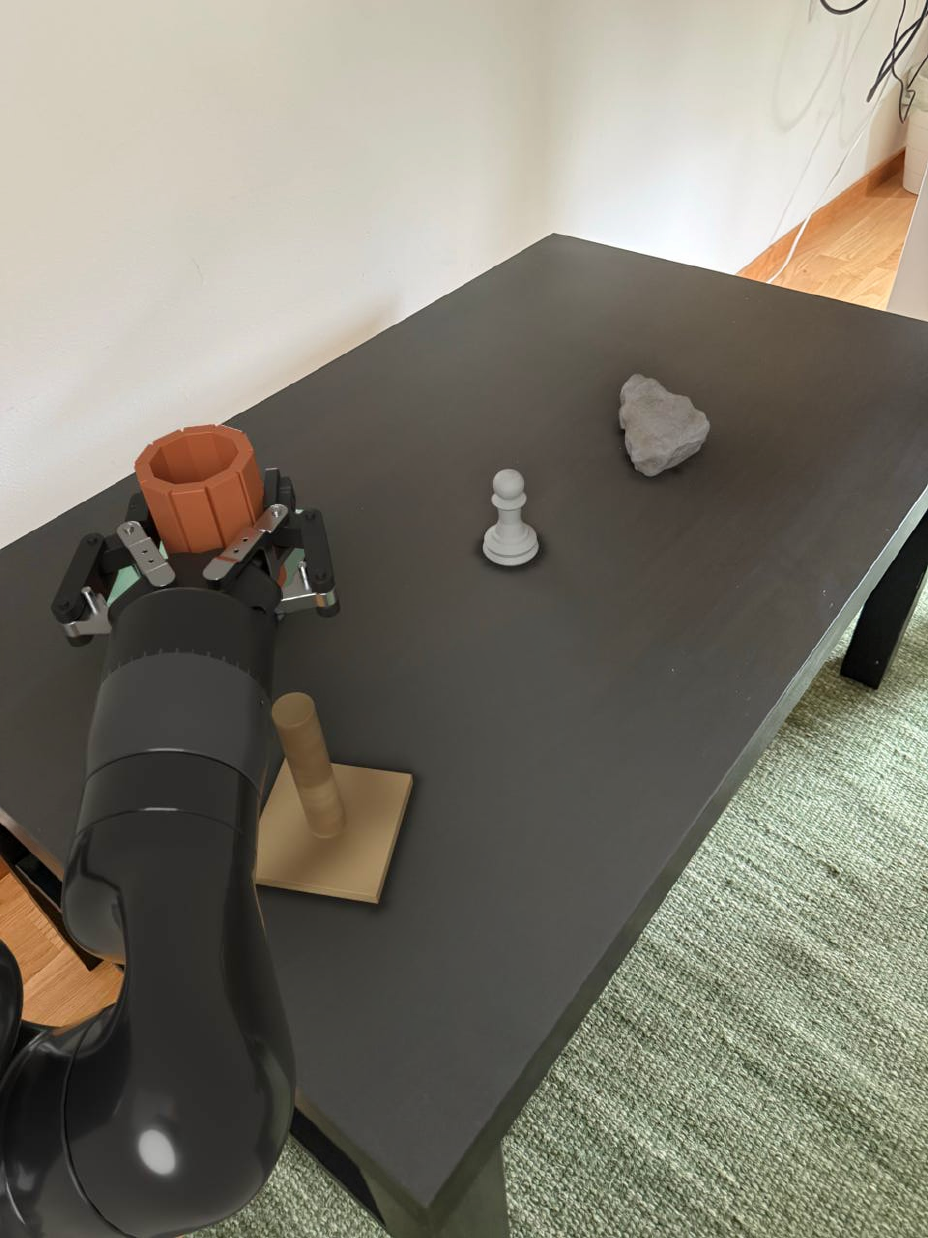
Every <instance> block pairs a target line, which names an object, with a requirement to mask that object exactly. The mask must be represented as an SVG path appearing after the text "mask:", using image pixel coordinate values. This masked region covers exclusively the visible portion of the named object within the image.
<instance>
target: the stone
mask: <svg viewBox="0 0 928 1238" xmlns="http://www.w3.org/2000/svg"><path fill="white" fill-rule="evenodd" d="M619 399H620V404H621V406H620V408H619V410H618V417H619V419H618V420H619V425H620V428H621V429H623V430H624V431H625V434H624V444H625V445H624V446H625V449H626V451H627V454H628V455H629V456H630V459H631V463H633V464H634V469H635V470H636V471H637V472H639V473H642V474H643V475H644V476H645V477H654V476H657V475H658V474H660V473H662V472H663V471H664V470H669V469H671V468H674V467H675V466H678V465H679V464H681V463H682V462H684V461H685V460H686V459H688V458H690V457H692V456H693V455H694V454H696V453H697V452H699V450H700V449H701V448H702V444H704V443H705V442H706V440H707V435H708V434H709V432H710V429H711V425H710V421H709V420H708V419H707V416H706V413H705V412H704V411H701V410H699V409H697V408H696V407H694V405H693V403H692V401H691V398H690V397H688V396H687V395H681V394H674V393H671V392H670V391H668V390H666V388H665V387H664V386H663V385H662V384H661V382H659V381H658V380H657V379H654V378H653V377H645V376H644V375H642V374H641V373H635V374H632V375H631V376H630V377H629V379H627V381H626V382H625V383H623V385H622V388H621V392H620V395H619Z"/></svg>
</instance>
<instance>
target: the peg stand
mask: <svg viewBox="0 0 928 1238" xmlns="http://www.w3.org/2000/svg"><path fill="white" fill-rule="evenodd" d="M271 717H272V722H273V724H274V727H275V729H276V733H277V735H278V739H279V741H280V744H281V748H282V750H283V753H284V756H285V757H284V760H283V762H282V764H281V767H280V770H279V771H278V774H277V777H276V779H275V782H274V783H273V787H272V788H271V791H270V793H269V796H268V798H267V800H266V803H265V806H264V808H263V810H262V812H261V815H260V817H259V834H258V851H257V872H256V882H255V885H262V886H268V887H274V888H281V889H287V890H292V891H299V892H305V893H311V894H317V895H324V896H329V897H334V898H340V899H347V900H353V901H360V902H366V903H373V904H379V902H380V898H381V895H382V891H383V888H384V884H385V881H386V877H387V873H388V871H389V867H390V864H391V860H392V856H393V853H394V850H395V846H396V843H397V839H398V836H399V833H400V829H401V826H402V822H403V819H404V815H405V812H406V809H407V805H408V802H409V799H410V794H411V791H412V787H413V784H414V781H413V780H414V779H413V774H412V773H405V772H396V771H391V770H390V771H389V770H382V769H375V768H368V767H361V766H354V765H346V764H339V763H333V762H331V758H330V755H329V751H328V748H327V744H326V741H325V737H324V733H323V730H322V727H321V723H320V719H319V716H318V713H317V709H316V705H315V702H314V700H313V699H312V697H310V695H308V694H306V693H302V692H290V693H287V694H284V695H282V696H280V697H279V698H278V699H277V700H275V702H274V703H273V704H272V710H271Z"/></svg>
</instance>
